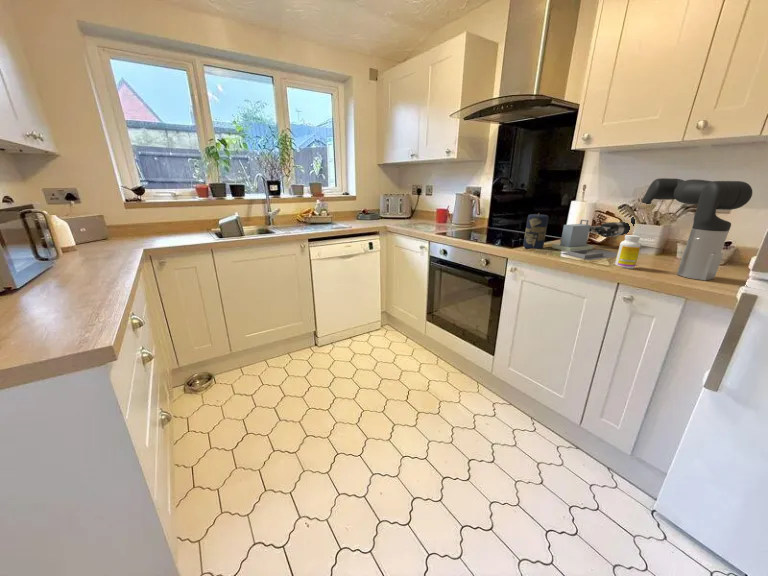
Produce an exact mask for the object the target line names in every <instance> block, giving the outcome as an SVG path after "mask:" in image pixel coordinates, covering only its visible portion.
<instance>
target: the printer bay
mask: <svg viewBox="0 0 768 576" xmlns="http://www.w3.org/2000/svg"><path fill="white" fill-rule="evenodd" d="M560 254H561V255H566V256H570V257H573V258H578V259H582V260H586V261H593V260H601V259H609V258H616V257H617V254H618V252H615V251H612V250H604V249H600V248H599V249H598V248H597V249H590V250H586V249H584V250H574V251H566V252H561V253H560Z"/></svg>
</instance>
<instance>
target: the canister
mask: <svg viewBox="0 0 768 576" xmlns="http://www.w3.org/2000/svg"><path fill="white" fill-rule="evenodd" d="M549 219H550V218H549V215H547V214H540V212H538V213H537V214H536V213H534V214H533V213H531V214H528V216H527V219H526V224H525V225H526V227H525V230H524V231H525V232H524V239H523V243H522V245H523V247H524V249H530V250H532V249H533V250H534V249H535V250H537V249H539V250H540V249H543V248H544V244H545V240H546V235H547V228H548V223H549Z"/></svg>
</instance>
